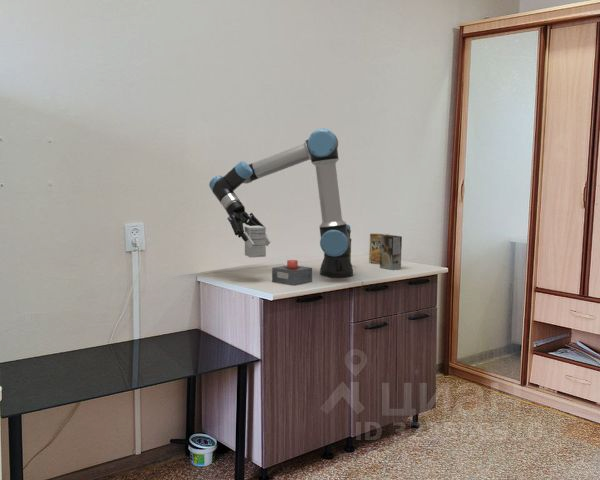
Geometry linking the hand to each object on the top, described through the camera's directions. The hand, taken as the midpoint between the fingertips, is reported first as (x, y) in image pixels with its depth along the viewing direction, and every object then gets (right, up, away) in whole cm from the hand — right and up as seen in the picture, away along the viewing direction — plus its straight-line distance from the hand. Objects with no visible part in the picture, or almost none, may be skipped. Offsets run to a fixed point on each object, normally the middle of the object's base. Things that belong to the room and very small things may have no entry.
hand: (260, 245), depth 256 cm
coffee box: (+61, -12, +44) cm, 76 cm away
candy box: (+57, -10, +59) cm, 83 cm away
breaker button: (+13, -12, +2) cm, 18 cm away
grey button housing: (+13, -16, +2) cm, 21 cm away
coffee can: (+36, -11, +45) cm, 59 cm away
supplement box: (-2, -5, +2) cm, 6 cm away
